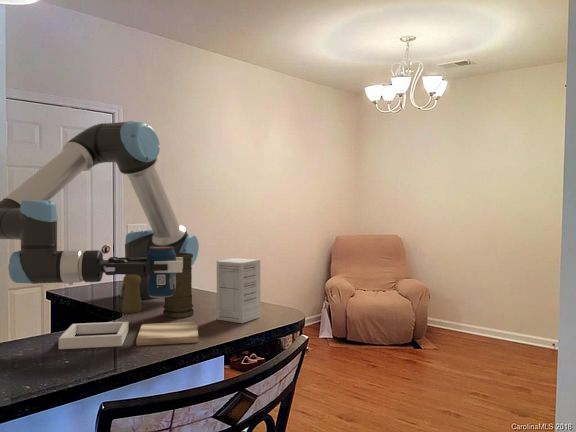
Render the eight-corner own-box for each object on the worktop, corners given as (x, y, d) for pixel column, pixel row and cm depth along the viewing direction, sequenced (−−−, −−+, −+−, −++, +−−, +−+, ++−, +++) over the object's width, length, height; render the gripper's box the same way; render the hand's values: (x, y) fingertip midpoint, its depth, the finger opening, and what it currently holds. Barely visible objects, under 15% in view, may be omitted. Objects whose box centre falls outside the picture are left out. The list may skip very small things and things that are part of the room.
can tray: (72, 333, 119) (72, 323, 119) (128, 330, 122) (128, 321, 122) (58, 349, 106) (58, 338, 106) (121, 346, 109) (121, 335, 109)
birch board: (141, 329, 123) (141, 324, 123) (196, 327, 126) (196, 321, 126) (136, 345, 109) (136, 339, 109) (198, 342, 112) (198, 336, 112)
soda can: (147, 293, 119) (147, 245, 119) (176, 292, 121) (176, 245, 120) (145, 298, 112) (145, 248, 112) (175, 297, 114) (175, 247, 114)
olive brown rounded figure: (134, 313, 142) (134, 276, 141) (117, 311, 144) (117, 275, 143) (146, 309, 147) (146, 273, 147) (130, 307, 149) (130, 272, 149)
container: (186, 318, 135) (186, 255, 135) (157, 317, 137) (157, 254, 137) (198, 312, 144) (198, 252, 144) (171, 310, 146) (171, 252, 145)
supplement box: (261, 317, 138) (262, 259, 137) (242, 324, 130) (243, 262, 129) (235, 313, 143) (235, 257, 142) (215, 319, 135) (215, 260, 134)
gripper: (92, 275, 123) (183, 273, 127) (73, 289, 103) (181, 286, 108) (92, 246, 122) (183, 245, 127) (73, 255, 103) (181, 253, 108)
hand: (182, 264), depth 117 cm, fingers closed on soda can, 7 cm apart
